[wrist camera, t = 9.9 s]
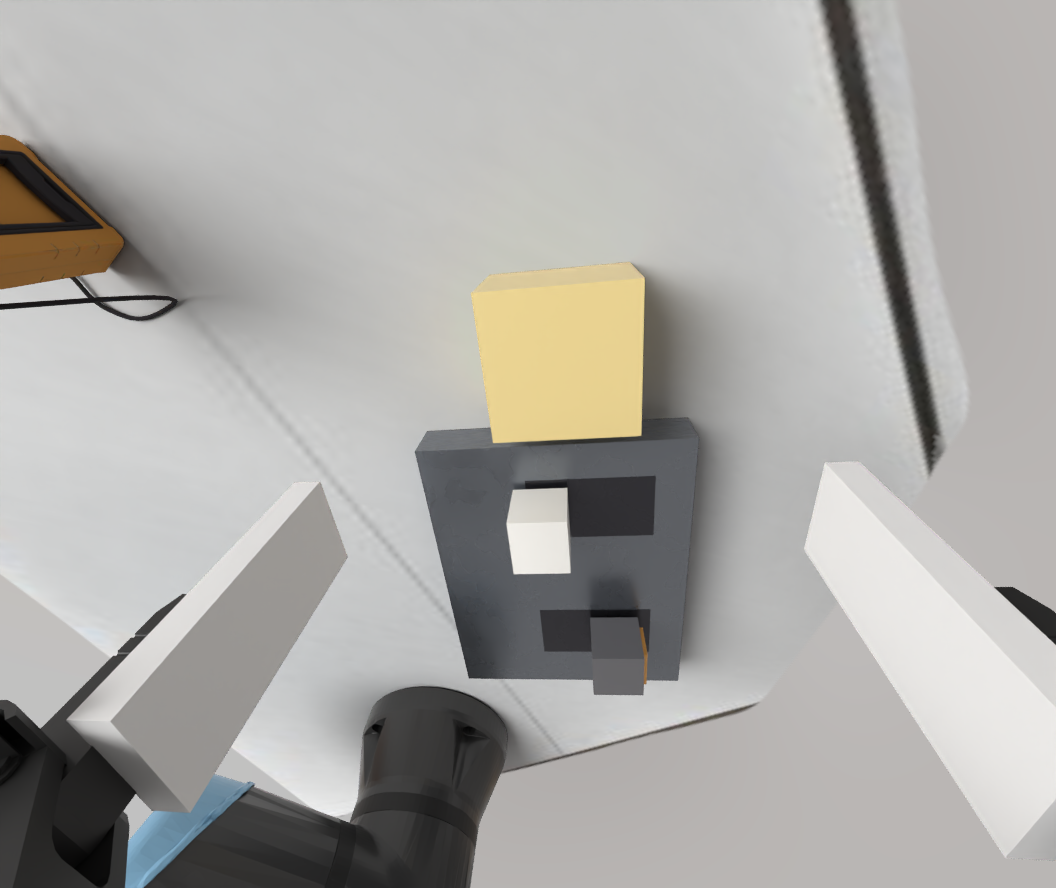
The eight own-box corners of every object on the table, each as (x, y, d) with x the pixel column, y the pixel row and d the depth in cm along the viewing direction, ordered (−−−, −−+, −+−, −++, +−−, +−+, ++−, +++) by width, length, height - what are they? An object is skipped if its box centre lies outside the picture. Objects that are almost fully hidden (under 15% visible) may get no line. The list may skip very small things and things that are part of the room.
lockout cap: (628, 394, 30) (641, 435, 25) (505, 401, 31) (493, 443, 26) (629, 262, 27) (644, 277, 21) (489, 274, 27) (470, 292, 22)
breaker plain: (570, 536, 32) (570, 573, 29) (519, 537, 32) (513, 574, 29) (567, 487, 30) (566, 521, 27) (512, 489, 30) (506, 523, 27)
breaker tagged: (640, 652, 37) (647, 695, 34) (591, 652, 37) (593, 694, 34) (641, 617, 35) (649, 659, 32) (590, 617, 35) (592, 658, 32)
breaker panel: (671, 649, 41) (678, 680, 39) (475, 649, 43) (468, 678, 41) (687, 417, 31) (699, 438, 28) (427, 431, 33) (414, 451, 30)
